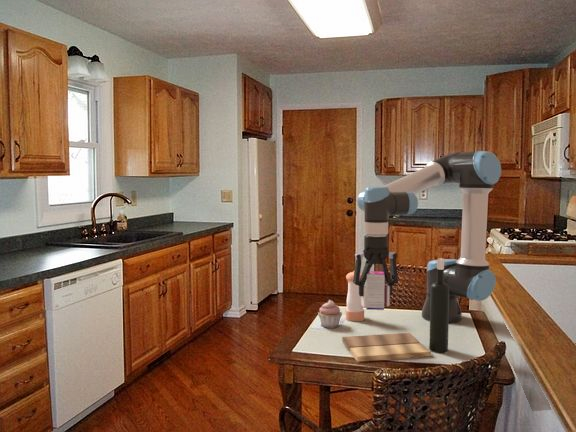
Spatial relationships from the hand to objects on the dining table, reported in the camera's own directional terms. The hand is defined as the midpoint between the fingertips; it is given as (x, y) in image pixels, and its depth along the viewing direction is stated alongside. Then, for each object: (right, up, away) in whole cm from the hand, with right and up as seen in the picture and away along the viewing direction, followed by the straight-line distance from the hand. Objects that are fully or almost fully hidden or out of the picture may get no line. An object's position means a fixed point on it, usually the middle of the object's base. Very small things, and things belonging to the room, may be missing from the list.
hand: (375, 305), depth 167 cm
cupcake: (-13, -13, +27) cm, 32 cm away
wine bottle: (+21, -15, 0) cm, 25 cm away
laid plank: (+4, -15, -4) cm, 16 cm away
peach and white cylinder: (-2, -12, +36) cm, 38 cm away
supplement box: (0, -1, 0) cm, 1 cm away
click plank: (+3, -14, +5) cm, 15 cm away
